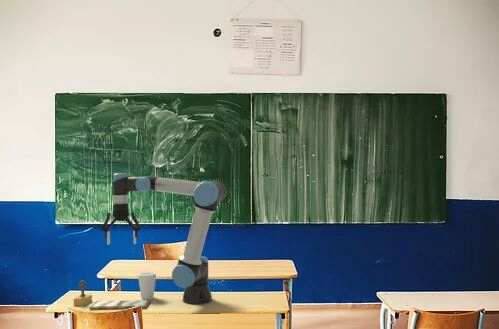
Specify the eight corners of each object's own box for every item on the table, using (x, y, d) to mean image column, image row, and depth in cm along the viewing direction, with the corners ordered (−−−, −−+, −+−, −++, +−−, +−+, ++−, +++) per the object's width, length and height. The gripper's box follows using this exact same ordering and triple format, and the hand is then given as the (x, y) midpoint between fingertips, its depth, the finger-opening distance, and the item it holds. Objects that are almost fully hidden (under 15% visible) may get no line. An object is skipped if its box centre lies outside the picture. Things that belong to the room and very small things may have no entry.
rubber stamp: (81, 300, 292) (81, 278, 292) (92, 301, 291) (91, 278, 291) (73, 305, 282) (73, 282, 282) (84, 306, 282) (83, 282, 282)
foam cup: (152, 300, 290) (151, 275, 290) (135, 299, 292) (135, 275, 292) (158, 296, 300) (158, 272, 300) (142, 295, 302) (142, 271, 301)
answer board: (150, 302, 287) (150, 299, 287) (146, 308, 274) (146, 306, 274) (96, 302, 287) (96, 300, 287) (89, 309, 274) (89, 307, 274)
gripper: (146, 202, 290) (147, 242, 291) (98, 203, 290) (99, 243, 291) (143, 203, 283) (144, 244, 283) (94, 204, 283) (95, 245, 283)
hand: (121, 244), depth 287 cm, fingers open, 13 cm apart
